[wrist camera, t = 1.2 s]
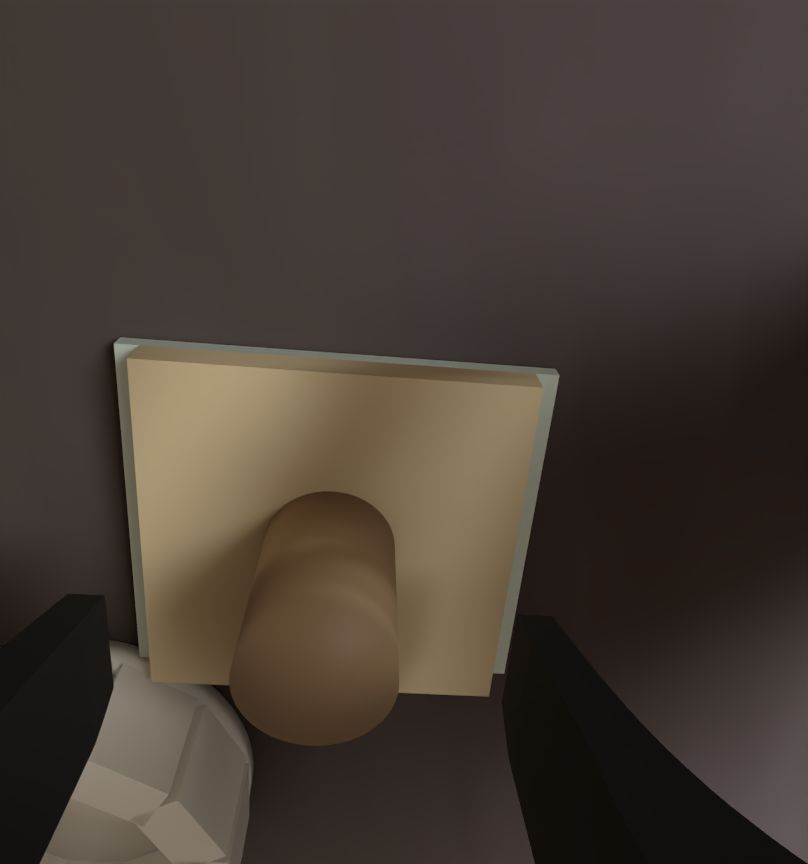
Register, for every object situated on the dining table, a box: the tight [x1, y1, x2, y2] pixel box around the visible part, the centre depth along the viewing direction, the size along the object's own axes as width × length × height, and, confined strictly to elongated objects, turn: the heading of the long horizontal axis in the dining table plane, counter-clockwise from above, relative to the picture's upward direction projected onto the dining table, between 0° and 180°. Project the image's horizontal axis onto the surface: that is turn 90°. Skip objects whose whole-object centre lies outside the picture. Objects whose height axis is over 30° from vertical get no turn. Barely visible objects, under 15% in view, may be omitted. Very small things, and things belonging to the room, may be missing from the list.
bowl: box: [40, 640, 254, 864], centre depth 18 cm, size 8×8×4 cm
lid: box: [127, 345, 543, 746], centre depth 14 cm, size 8×8×5 cm
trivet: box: [114, 337, 560, 674], centre depth 17 cm, size 9×8×1 cm
